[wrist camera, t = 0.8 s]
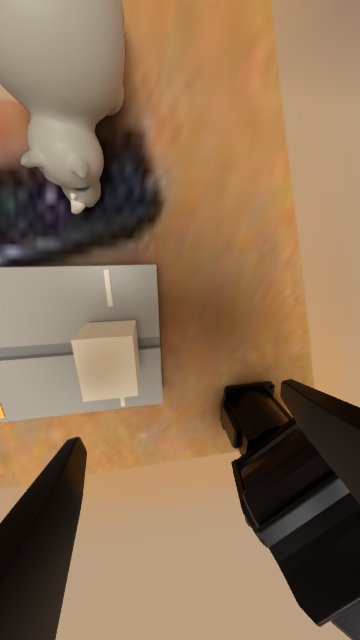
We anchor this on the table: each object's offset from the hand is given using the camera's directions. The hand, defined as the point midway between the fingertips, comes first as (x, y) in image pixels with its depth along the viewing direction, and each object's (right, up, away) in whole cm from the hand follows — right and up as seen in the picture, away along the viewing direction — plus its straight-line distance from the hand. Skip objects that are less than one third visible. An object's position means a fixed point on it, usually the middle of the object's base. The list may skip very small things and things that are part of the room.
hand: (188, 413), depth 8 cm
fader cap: (-6, +2, +10) cm, 11 cm away
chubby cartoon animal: (-8, +19, +6) cm, 21 cm away
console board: (-13, +2, +11) cm, 17 cm away
